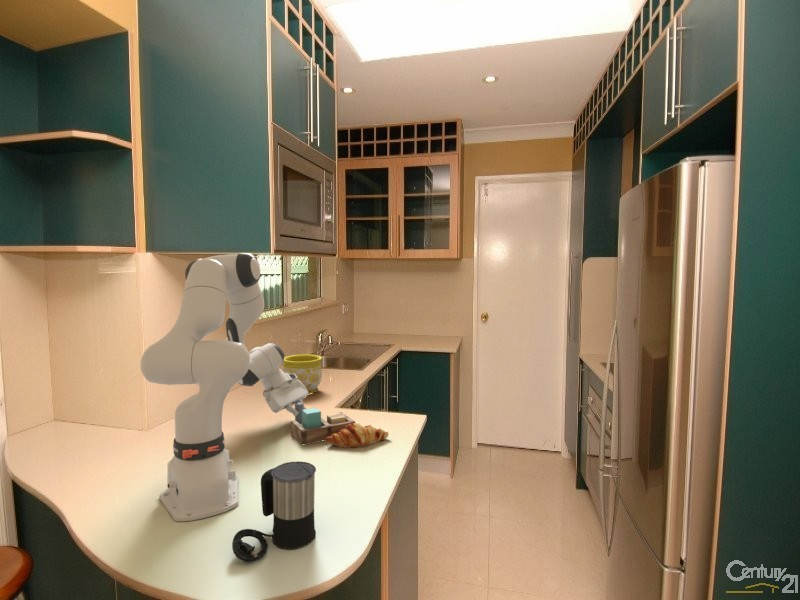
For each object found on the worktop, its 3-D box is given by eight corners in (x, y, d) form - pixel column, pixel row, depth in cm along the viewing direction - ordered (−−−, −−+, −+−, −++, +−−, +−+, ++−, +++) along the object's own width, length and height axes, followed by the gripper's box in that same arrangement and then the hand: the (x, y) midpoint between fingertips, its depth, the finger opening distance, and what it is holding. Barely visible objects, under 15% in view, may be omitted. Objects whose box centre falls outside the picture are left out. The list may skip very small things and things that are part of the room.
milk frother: (323, 528, 98) (323, 463, 97) (287, 575, 83) (286, 499, 82) (266, 518, 101) (265, 456, 100) (222, 562, 86) (220, 489, 85)
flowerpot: (306, 399, 195) (305, 363, 194) (274, 394, 203) (274, 359, 202) (329, 390, 211) (329, 356, 210) (299, 385, 219) (299, 353, 218)
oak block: (345, 433, 155) (345, 416, 155) (332, 436, 152) (332, 419, 152) (339, 429, 159) (339, 412, 159) (326, 431, 157) (326, 415, 156)
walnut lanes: (355, 434, 154) (355, 421, 154) (302, 444, 144) (302, 431, 144) (341, 423, 165) (341, 412, 164) (291, 433, 155) (291, 420, 154)
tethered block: (321, 437, 151) (321, 411, 151) (307, 440, 149) (306, 413, 148) (304, 422, 166) (304, 399, 165) (291, 424, 163) (291, 401, 163)
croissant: (385, 445, 153) (382, 422, 156) (394, 441, 144) (390, 417, 148) (324, 452, 146) (322, 428, 149) (329, 449, 137) (328, 423, 140)
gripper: (265, 385, 155) (290, 416, 152) (297, 373, 174) (319, 399, 171) (255, 397, 156) (279, 427, 154) (288, 383, 176) (309, 410, 173)
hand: (301, 412), depth 163 cm, fingers closed on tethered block, 3 cm apart
